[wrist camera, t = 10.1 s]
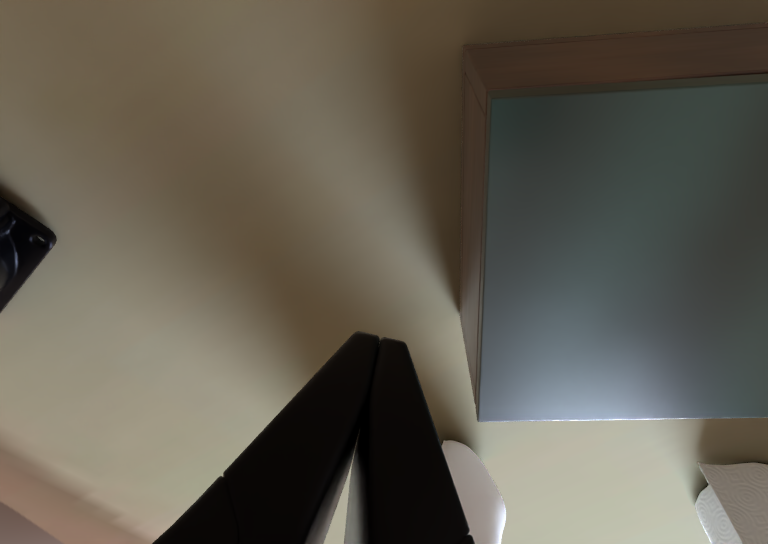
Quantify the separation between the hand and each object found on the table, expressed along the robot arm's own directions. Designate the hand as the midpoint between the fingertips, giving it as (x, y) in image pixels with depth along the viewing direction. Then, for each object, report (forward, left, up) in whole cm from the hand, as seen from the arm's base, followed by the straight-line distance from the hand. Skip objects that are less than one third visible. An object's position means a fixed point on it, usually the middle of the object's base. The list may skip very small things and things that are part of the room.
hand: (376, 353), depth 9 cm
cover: (+5, -9, -7) cm, 12 cm away
